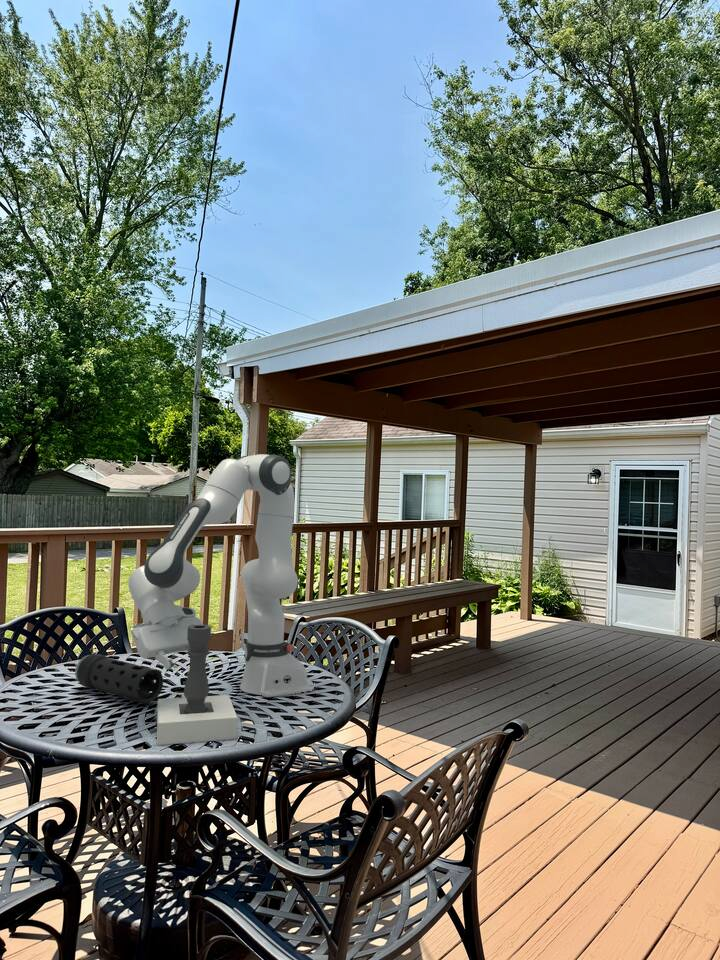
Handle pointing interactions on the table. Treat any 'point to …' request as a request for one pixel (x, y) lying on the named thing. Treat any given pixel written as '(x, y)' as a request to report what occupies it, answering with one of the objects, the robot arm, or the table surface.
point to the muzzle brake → (119, 678)
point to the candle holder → (197, 669)
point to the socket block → (195, 721)
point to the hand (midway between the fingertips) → (185, 664)
